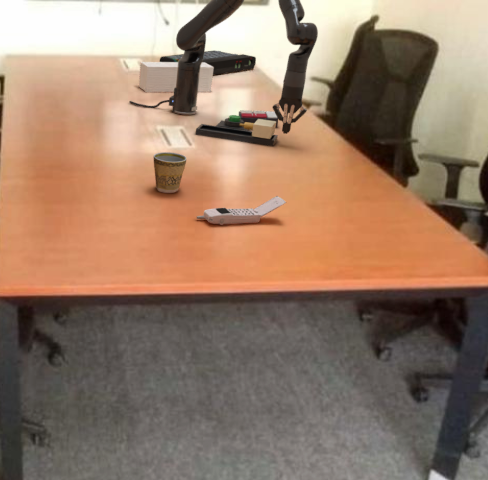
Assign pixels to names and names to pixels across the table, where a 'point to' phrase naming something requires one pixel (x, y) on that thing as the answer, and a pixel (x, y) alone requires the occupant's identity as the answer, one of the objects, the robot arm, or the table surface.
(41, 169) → the table surface
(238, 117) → the button
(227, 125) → the button box
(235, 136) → the rail
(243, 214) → the mobile phone
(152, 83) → the stack of papers
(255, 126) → the nozzle carriage
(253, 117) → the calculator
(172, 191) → the ceramic cup
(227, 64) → the computer keyboard
